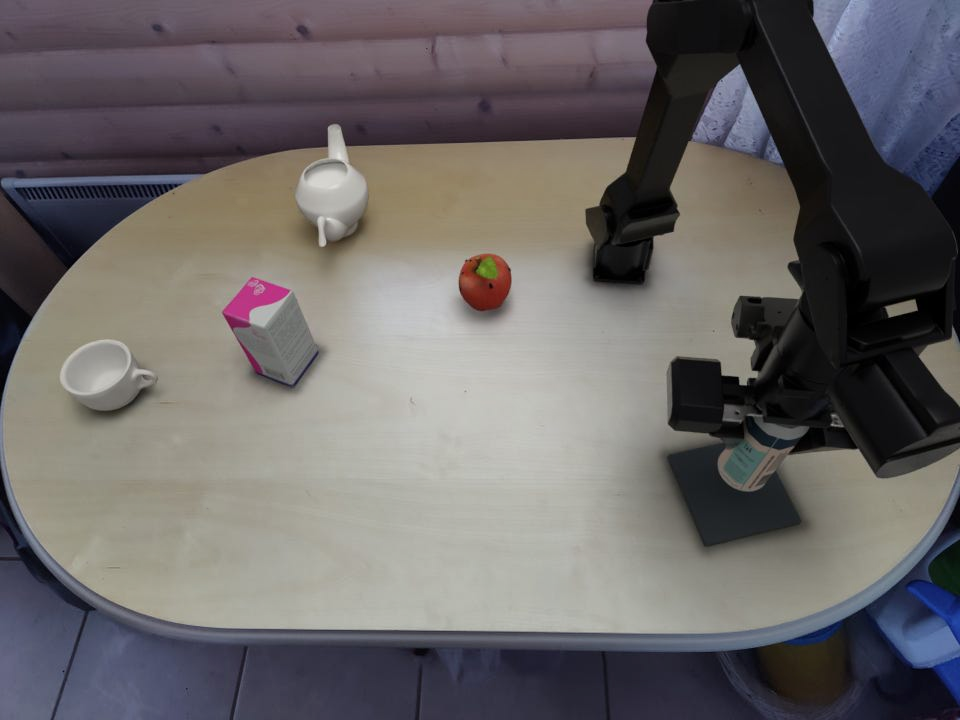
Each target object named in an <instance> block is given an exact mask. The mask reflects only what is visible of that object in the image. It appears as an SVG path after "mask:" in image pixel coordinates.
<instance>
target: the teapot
mask: <svg viewBox="0 0 960 720" xmlns="http://www.w3.org/2000/svg"><path fill="white" fill-rule="evenodd" d="M369 193H370V191H369V185H368V182H367V179H366V177H365V176H364V175H363V173H362V172H361V171H360V170H359V169H358V168H356V167H355V166H354V165H352V164H351V163H350V159H349V154H348V150H347V145H346V142H345V138H344V135H343V131H342V128H341V125H339V124H337V123H332V124H330V125H329V126H328V127H327V157H325V158H321V159H318V160H315V161H313V162H311V163H310V164H309V165H307V166H306V167H305V168H304V170H302V172H301V174H300V175H299V178H298V180H297V183H296V185H295V188H294V199H295V204H296V206H297V209H298V210H299V212H300V213H301V215H302V216H303V217H304V219H306V220H307V221H308V222H309V223H310V224H312V225H313V226H315V227H316V228H317V229H318V245H319V247H321V248H322V247H325V246H326V245H327V241H328V242H331V243H333V242H334V243H335V242H338V241H341V240H342V239H343V238H346V237H349V236H351V235H352V234H353V233H355V232H356V230H357V228H358V226H359V221H360V220H361V219H362V217H363V216H364V214H365V212H366V211H367V208H368V203H369V199H370V198H369V197H370V194H369Z"/></svg>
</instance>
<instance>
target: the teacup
mask: <svg viewBox="0 0 960 720" xmlns="http://www.w3.org/2000/svg"><path fill="white" fill-rule="evenodd" d="M59 371H60V372H59V380H60V383H61V386H62V387H63V388H64V389H65V391H66V392H67V393H68V394H69V395H70V396H72V397H73V398H74V399H75V400H77V401H78V402H79V403H80V404H82V405H84V406H86V407H87V408H89V409H92V410H95V411H101V412H102V411H104V412H107V411H114V410H115V411H116V410H118V409H121V408H123V407H125V406H127V405H128V404H130V403H131V402H132V401H133V400H134V399H136V398H137V396H138V395H139V393H140V391H141V390H142V389H144V388H147V387H151V386H153V385H155V384H157V382H158V381H159V377H158V375H157V374H156V373H155V372H153V371H151V370H149V369H144V368H142V367H141V365H140V363H139V362H138V359H136V357H135V356H134V354H133V353H132V351H131V349H130V348H129V347H128V346H127V345H126V344H124V343H123V342H121V341H119V340H116V339H99V340H94V341H91V342H88V343H86V344H83V345H82V346H80V347H78V348H77V349H75V350H74V351H73V352H72V353H71V354H70V355H68V357H67V358H66V360H65V361H64V362H63V364H62V366H61V369H60V370H59ZM144 376H147V377H150V378H151V379H145V378H144Z"/></svg>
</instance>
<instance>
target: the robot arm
mask: <svg viewBox="0 0 960 720" xmlns="http://www.w3.org/2000/svg"><path fill="white" fill-rule="evenodd" d="M814 15H815V6H814V0H652V1H651V4H650V6H649V8H648V10H647V16H646V25H645V26H646V27H645V28H646V37H645V44H646V46H647V48H648V50H649V52H650V55H651V57H652V59H653V61H654V63H655V65H656V69H655V73H654V76H653V79H652V83H651V86H650V89H649V92H648V96H647V100H646V103H645V106H644V110H643V113H642V116H641V119H640V124H639V126H638V131H637V133H636V137H635V139H634V143H633V146H632V150H631V153H630V156H629V160H628V162H627V166H626V170H625V171H624V172H623V173H622V174H621V175H620V176H618V177H617V178H616V179H614V181H611V183H610V184H608V185H607V186H606V187H605V189H604V192H603V194H602V196H601V198H600V201H599V204H598V205H596V206H592V207H591V206H590V207H587V208H585V210H584V211H585V212H584V213H585V214H584V215H585V225H586V228H587V230H588V231H589V234H590V236H591V238H592V240H593V242H594V244H593V260H592V261H593V263H592V277H591V278H592V280H593V281H595V282H603V283H620V284H633V285H634V284H636V285H637V284H638V285H642V284H644V283H645V280H646V271H648V270H649V269H650V265H651V262H652V257H653V252H654V247H655V245H654V243H655V242H654V239H655V238H654V237H657V236H660V237H661V236H665V235H666V234H671V233H674V232H675V226H676V223H677V220H678V219H679V218H680V216H681V213H680V211H679V209H678V203H677V201H676V199H675V197H674V194H673V192H672V190H671V186H672V184H673V182H674V179H675V176H676V174H677V172H678V170H679V168H680V164H681V162H682V159H683V157H684V155H685V152H686V149H687V147H688V144H689V142H690V140H691V138H692V135H693V132H694V131H695V128H696V125H697V123H698V120H699V118H700V115H701V114H702V113H701V112H702V110H703V107H704V105H705V103H706V101H707V98H708V96H709V93H710V90H711V89H712V88H713V87H714V86H715V85H717V83H719V82H720V81H721V80H723V79H724V78H725V77H727V75H729V74H730V73H731V72H732V71H733V70H735V69H736V68H738V67H739V66H740V68H741V70H742V72H743V75H744V77H745V79H746V81H747V84H748V86H749V88H750V91H751V92H752V93H751V94H752V95H753V98H754V100H755V102H756V104H757V107H758V109H759V111H760V113H761V116H762V118H763V120H764V122H765V124H766V127H767V129H768V131H769V132H768V133H769V134H770V137H771V139H772V141H773V143H774V145H775V147H776V150H777V152H778V154H779V157H780V159H781V161H782V163H783V166H784V168H785V170H786V173H787V175H788V177H789V179H790V182H791V184H792V186H793V188H794V192H795V196H796V198H797V201H798V204H799V205H798V206H799V210H798V214H797V219H796V223H795V227H794V233H793V237H792V238H793V239H792V241H793V244H794V249H795V251H796V255H797V257H798V259H796V260H791V261H789V262H788V263H787V271H788V272H789V274H790V275H791V277H792V278H793V279H794V281H795V282H796V283H797V285H798V287H799V289H800V291H801V294H800V296H799V298H789V297H788V298H787V297H772V296H763V297H761V296H756V295H755V296H754V295H739V297H738V298H737V301H736V302H735V304H734V306H733V309H732V314H731V317H730V320H731V321H730V326H731V329H732V332H733V336H734V338H736V339H746V340H747V339H748V340H749V341H753V343H754V346H755V348H754V350H753V352H752V353H751V356H750V359H749V361H750V369H751V372H757V376H756V377H748V378H747V379H746V384H740V377H739V376H737V375H725V374H723V373H722V362H721V361H720V360H719V359H718V358H710V357H709V358H708V357H707V358H706V357H696V356H683V355H681V356H680V355H677V356H675V357H674V358H672V360H670V362H669V364H668V367H667V370H666V406H667V407H666V410H667V411H666V412H667V415H666V416H667V425H668V426H669V427H670V428H671V429H672V430H673V431H674V432H686V433H695V434H696V433H697V434H707V435H708V436H710V437H712V438H716V439H717V438H718V439H720V440H721V441H722V443H723V442H724V443H725V447H726V449H727V450H731V449H733V448H735V447H736V446H737V445H738V444H739V443H740V442H741V441H743V440H744V427H743V420H744V419H745V417H746V416H756V417H763V423H772V424H783V425H794V426H806V427H809V429H808V431H807V432H806V433H805V434H804V435H803V436H802V438H801V439H800V440H799V441H798V443H797V444H796V445H795V446H794V448H793V449H792V450H791V451H790V453H789V454H788V455H787V456H794V455H795V456H796V455H802V454H811V453H822V452H834V451H835V452H836V451H844V450H846V451H849V450H850V451H856V450H858V451H859V452H860V454H861V455H862V457H863V459H864V460H865V461H866V463H867V465H868V467H869V468H870V469H871V471H872V473H873V475H874V476H875V477H876V478H877V479H882V480H883V479H892V478H896V477H897V478H898V477H901V476H904V475H907V474H911V473H913V472H917V471H918V470H921V469H925V468H927V467H928V466H929V467H930V465H933V464H935V463H937V462H940V461H941V460H943V459H945V458H948V456H950V455H952V454H953V453H955V452H957V451H958V450H960V405H959V403H958V402H957V401H956V400H955V399H954V398H953V396H951V395H950V394H949V393H948V392H947V391H946V390H945V389H944V387H943V386H941V384H940V383H939V381H938V380H937V379H936V377H935V376H934V375H933V373H932V372H931V371H930V369H929V368H928V367H927V366H926V364H925V363H924V361H923V360H922V359H921V358H920V356H921V354H922V353H923V352H924V351H925V350H926V349H927V347H928V346H932V345H936V344H940V343H943V342H947V341H950V340H951V339H952V338H953V327H954V326H953V324H954V323H953V322H954V311H955V310H957V304H956V303H957V302H956V295H955V281H956V259H957V257H958V254H959V252H958V243H957V239H956V237H955V234H954V231H953V229H952V227H951V225H950V224H949V222H948V221H947V219H946V218H945V216H944V215H943V214H942V212H941V211H940V209H939V208H938V206H936V204H935V202H934V201H933V199H932V198H931V197H930V196H929V194H928V192H927V191H926V190H925V188H924V187H923V185H921V183H919V182H918V181H916V180H914V179H913V178H911V177H909V176H907V175H906V174H905V173H903V172H901V171H899V170H898V169H896V168H894V167H893V166H891V165H889V164H888V163H887V162H886V161H885V160H884V158H883V156H882V155H881V154H880V152H879V151H878V149H877V148H876V146H875V144H874V142H873V139H872V138H871V135H870V133H869V131H868V129H867V127H866V125H865V123H864V121H863V119H862V117H861V115H860V113H859V110H858V109H857V106H856V104H855V102H854V100H853V98H852V96H851V94H850V92H849V90H848V87H847V86H846V84H845V82H844V80H843V77H842V75H841V73H840V71H839V70H838V69H839V68H838V67H837V65H836V63H835V61H834V59H833V57H832V55H831V52H830V51H829V48H828V47H827V45H826V43H825V41H824V38H823V37H822V35H821V32H820V30H819V28H818V26H817V23H816V21H815V20H814ZM911 301H915V304H916V310H914V311H913V310H912V311H909V312H905V313H901V314H896V315H893V316H889V313H888V310H887V308H888V307H891V306H895V305H899V304H903V303H906V302H907V303H908V302H911ZM886 307H887V308H886Z"/></svg>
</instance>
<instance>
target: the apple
mask: <svg viewBox="0 0 960 720" xmlns="http://www.w3.org/2000/svg"><path fill="white" fill-rule="evenodd" d="M512 279H513V278H512V269H511V267H510V266H509V264H508V263H507V262H506V261H505V259H504V258H502V257H501V256H500V255H498V254H495V253H481V254H476V255H474V256H471V257H469V258H468V259H465V260H464V263H463V265H462V267H461V269H460V272H459V276H458V291H459V293H460V296H461V297H462V299H463V300H464V301H465V303H467V304H468V306H469V307H471V308H472V309H473V310H475V311H477V312H487V311H492V310H494V309H495V310H496V309H498V308H500V307H501V306H502V305H503V303H504V302H505V301H506V300H507V298H508V296H509V294H510V291H511V288H512Z"/></svg>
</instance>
